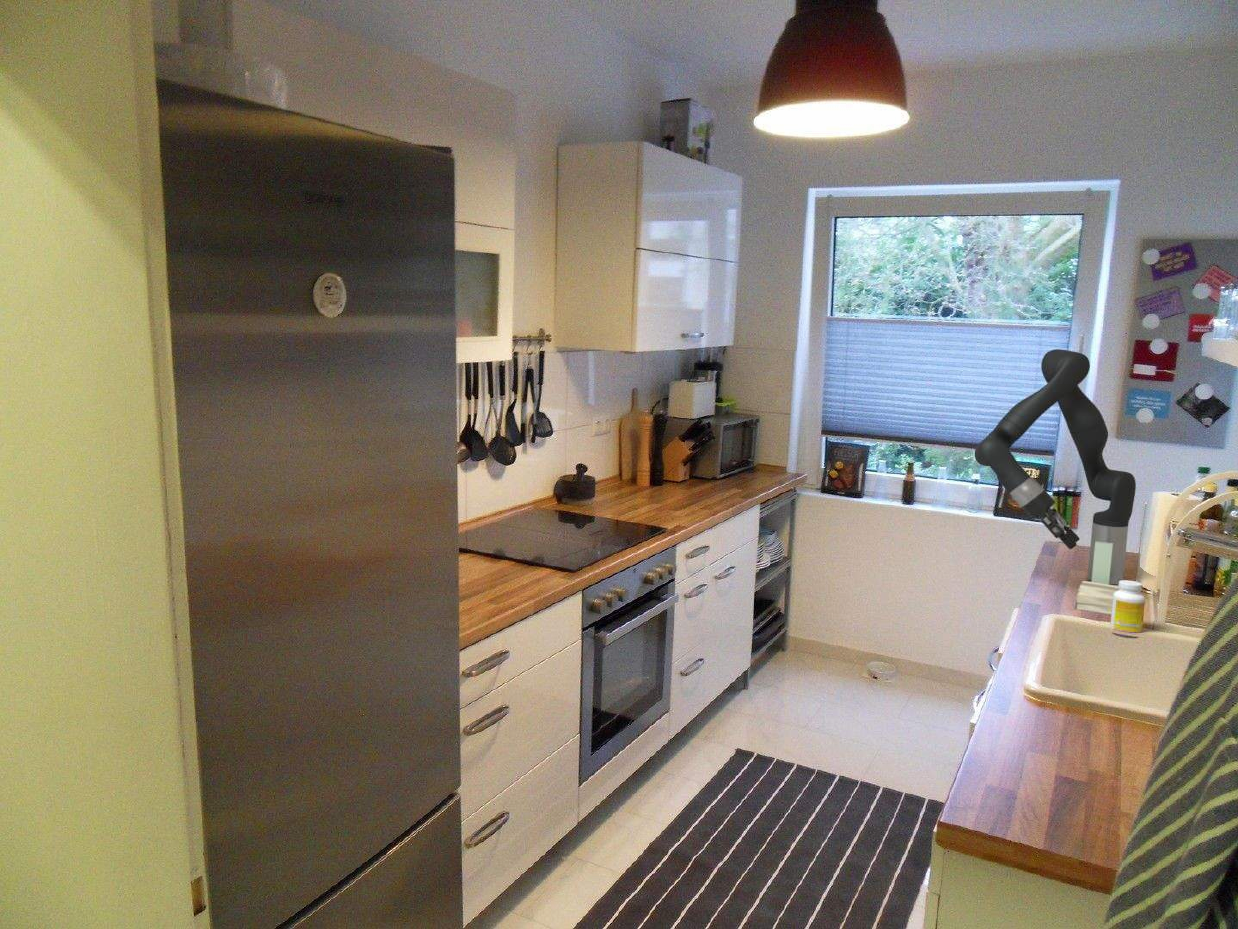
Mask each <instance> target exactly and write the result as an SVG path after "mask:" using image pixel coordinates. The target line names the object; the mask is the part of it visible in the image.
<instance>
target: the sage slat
mask: <svg viewBox="0 0 1238 929" xmlns="http://www.w3.org/2000/svg"><path fill="white" fill-rule="evenodd" d="M1112 549H1113V543H1104V542H1095V551H1094V561H1093V572H1092V581H1091V582H1094V583H1101V584H1107V585H1110V584H1109V580H1110V569H1111V559H1112Z"/></svg>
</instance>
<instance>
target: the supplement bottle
mask: <svg viewBox="0 0 1238 929" xmlns="http://www.w3.org/2000/svg"><path fill="white" fill-rule="evenodd" d="M1142 586H1143V584H1142V583H1140V582H1138V581H1135V580H1125V579H1123V580H1121V581H1119V588H1120V589H1119V591H1116V592H1115V593H1114V594H1113V603H1112V613H1111V615H1110V625H1109V628H1111V629H1112V630H1114V631H1118V632H1121V633H1116V632H1112V634H1113V635H1114V636H1116V637H1121V638H1125V639H1138V638H1140V636H1135V635H1128V634H1141V633H1142V632H1143V625H1144V624H1143V623H1144V613H1145V605H1146V604H1145V603H1146V598H1145V596H1144V595H1143V594H1142V593H1141V590H1142ZM1122 633H1127V634H1122Z"/></svg>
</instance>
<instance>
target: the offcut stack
mask: <svg viewBox="0 0 1238 929" xmlns="http://www.w3.org/2000/svg"><path fill="white" fill-rule="evenodd" d="M1119 589H1120V588H1119V586H1117V585H1115V584H1109V585H1107V584H1101V583H1094V582H1092V581H1086V580H1083V581H1081V584H1080V585H1079V588H1078V589H1077V596H1076V598H1077V599H1076V601H1077V602H1078V604H1077V609H1080V610H1079V611H1083V610H1087V611H1086V612H1090V611H1093V612H1092V613H1096V612H1100V613H1099V614H1103V613H1106V614H1105V615H1109V614H1111V613H1112V603H1113V594H1114V593H1115V592H1116V591H1119ZM1077 609H1076V610H1077Z"/></svg>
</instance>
